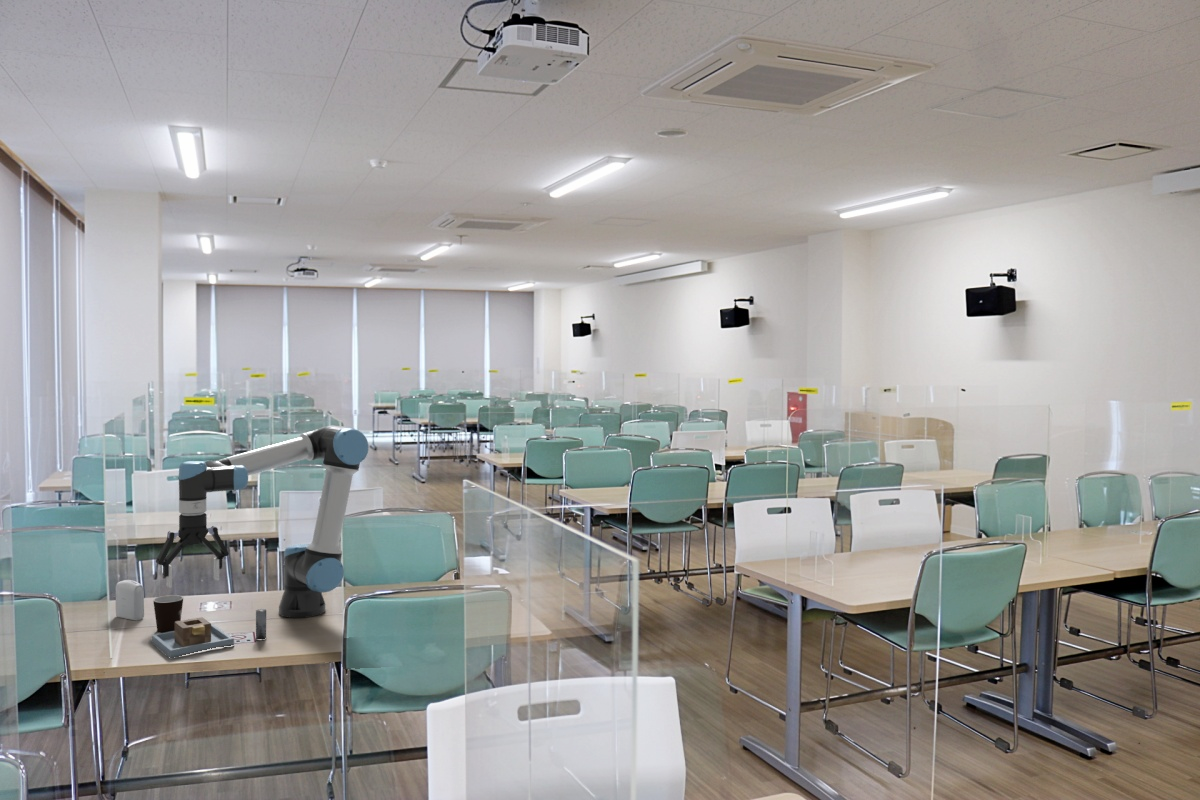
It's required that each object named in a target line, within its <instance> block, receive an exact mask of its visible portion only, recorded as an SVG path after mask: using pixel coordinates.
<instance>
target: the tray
mask: <svg viewBox="0 0 1200 800" xmlns="http://www.w3.org/2000/svg"><path fill="white" fill-rule="evenodd" d="M151 644H153V645H154V647H156V648H157V649H158V650H159V651H160V652H161V653H163V654H164V655H165V654H166V655H167V656H166V655H165V656H166V657H168V658H169V657H170V658H173V659H175V658H174V657H178V658H180V657H179V656H182V655H186V654H190V653H194V652H198V651H202V650H207V649H210V648H211V649H212V648H216V647H224V646H231V645H234V646H235V638H234V637H232V636H231V635H230V634H228V633H227V632H225V631H224V630H222V629H221V628H219V627H218V626H217V625H215V624H213V623H211V642H207V643H202V644H196V645H191V646H186V647H181V646H180V645H178V644H177V643H176V642H175V631H171V632H165V633H159V632H158V633H156V634H151ZM170 658H169V659H170Z"/></svg>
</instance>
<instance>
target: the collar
mask: <svg viewBox="0 0 1200 800" xmlns="http://www.w3.org/2000/svg"><path fill="white" fill-rule="evenodd" d="M211 624H212V623H211V622H210V621H209V620H207V619H206V618H205V617H202V616H200V617H195V618H188V619H181V621H176V622H175V642H176V643H177V644H178V645H180V646H181V647H186V646H191V645H196V644H202V643H207V642H211Z"/></svg>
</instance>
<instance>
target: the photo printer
mask: <svg viewBox="0 0 1200 800" xmlns="http://www.w3.org/2000/svg"><path fill="white" fill-rule="evenodd" d="M114 588H115V616H116V617H117V618H121V619H126V620H130V621H140V620H142V619H143V618H144V617H145V594H144V593H145V591H144V586H143V585H142V584H141V583H139V582H137V581H135V580H133V579H132V580H131V579H125V580H124V579H123V580H121V581H118V582H117V583H116V584H115V587H114Z"/></svg>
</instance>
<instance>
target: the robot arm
mask: <svg viewBox="0 0 1200 800" xmlns="http://www.w3.org/2000/svg"><path fill="white" fill-rule="evenodd" d="M369 448H370V447H369V442H368V438H367V437H366V435H365V434H364V433H363V432H362V431H360V430H358V429H355V428H353V427H349V426H348V427H347V426H341V425H336V424H334V425H326V426H323V427H320V428H316V429H313V430H309V431H307V432H304V433H303V432H302V433H301V434H300V435H299V437H297V438H291V439H289V440H286V441H283V442H282V441H281V442H278V443H274V444H271V445H267V446H263V447H260V448H257V449H256V448H255V449H252V450H249V451H245V452H242V453H238V454H235V455H231V456H227V457H223V458H220V459H216V460H214V459H213V460H212V459H210V460H209V459H207V460H204V461H201V460H189V461H184V462H181V463H180V465H179V468H178V477H177V478H178V479H177V480H178V493H179V494H178V513H180V514H179V515H178V527H179V528H178V531H171V530H169V531H167V536H166V539H165V542H164V544H163V545H162V548H161V549H160V552H159V554H158V556H157V558H156V560H155V563H156V564H157V565H159V566H162V575H163V577H165V579H166V583H165V585H166V587H167V588H169V589H172V588H173V566H172V565H171V563H172V562H173V560H175V558H176V557H177V556H178V554H179V553H180V552H181V551H182V549H183V548H185V547H186V546H192V545H200V544H201V543H202V544H203V545H204V546H205V547H206V548H207V549H208V550H209V551H210V552H211V553H212V554H213V555H214V556H215V557H213V580H215V581H216V582H219V581H220V570H221V569H223V559H224V558H225V557H226V556H227V557H228V556H229V555H230V553H229V551H228V549H227V547H226V546H225V544H224V541H223V540H222V538H221V536H220V535H219V530H218V527H216V526H214V525H212V526H211V527H209V528H207V526H208V525H207V518H208V517H207V514H206V512H207V493H216V492H228V491H229V492H230V491H239V490H244V489H246V488H247V486H248V483H249V476H252V475H254V474H255V475H256V474H259V473H262V472H265V471H266V472H267V471H268V470H272V469H275V468H280V467H283V466H286V465H290V464H292V463H297V462H300V461H303V460H306V461H308V462H309V461H310V462H311V461H315V460H320V459H323V461H322V462H323V463H322V466H323V467H324V469H325V474H324V475H325V476H324V479H323V485H322V490H321V495H320V501H319V507H318V512H317V515H316V521H315V526H314V531H313V536H312V537H313V538H312V541H311V543H302V544H301V543H300V544H294V545H289V546H287V547H285V550H284V555H283V561H284V563H283V565H284V567H283V569H284V570H283V571H284V575H283V576H284V578H283V579H284V581H283V583H284V584H283V585H284V587H283V588H284V589H283V594H282V597H281V598H280V603H279V605H278V615H280V616H281V617H285V618H291V619H292V618H293V619H300V618H310V617H315V616H316V617H317V616H320V615H322V614H323V613H324V612H326V602H325V599H324V595H323V593H328V592H331V591H333V590H334V589H336V588H338V586H339V585H340V584H341V583H342V582H343V579H344V576H345V567H344V565H343V564H342V562H341V560H342V556H343V550H342V549H341V548H340V541H341V536H342V531H343V527H344V526H343V525H344V521H345V515H346V510H347V506H348V500H349V495H350V491H351V486H352V480H353V476H354V474H356V473H357V472H358V471H359V469H360V466H361V465H360V463H362V462H363V461H365V459H366V458H367V456H368V453H369ZM208 533H209V535H211V536H212V538H213V539H214V541H215V544H216V545H217V547H218V549H219V550H220V551H219V550H218V549H217V548H216V547H215V546H214V545H213V544H212V543H211V542H210V541H209V540H208V539H207V538H206V536H207V535H208ZM177 537H178V538H180V539H179V540H178V541H177V543H176V545H175V546H174V547H173V548H172V550H171V547H172V545H173V543H174V541H175V540H176V539H177ZM169 551H170V552H169Z"/></svg>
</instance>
